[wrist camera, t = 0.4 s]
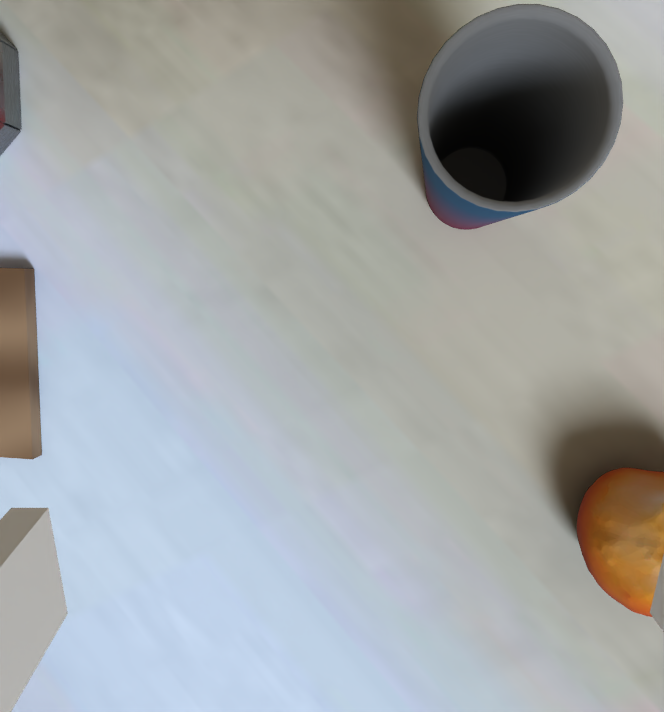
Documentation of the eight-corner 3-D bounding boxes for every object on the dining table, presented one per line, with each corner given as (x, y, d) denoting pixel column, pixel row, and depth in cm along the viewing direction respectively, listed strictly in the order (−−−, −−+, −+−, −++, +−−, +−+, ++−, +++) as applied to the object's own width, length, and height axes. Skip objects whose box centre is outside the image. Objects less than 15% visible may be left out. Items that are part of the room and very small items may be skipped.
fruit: (543, 595, 35) (602, 595, 28) (557, 472, 38) (613, 443, 31) (675, 633, 34) (772, 643, 27) (679, 505, 37) (766, 482, 30)
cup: (437, 262, 35) (463, 245, 20) (393, 160, 34) (385, 64, 19) (543, 214, 33) (655, 157, 19) (499, 108, 33) (577, -37, 18)
